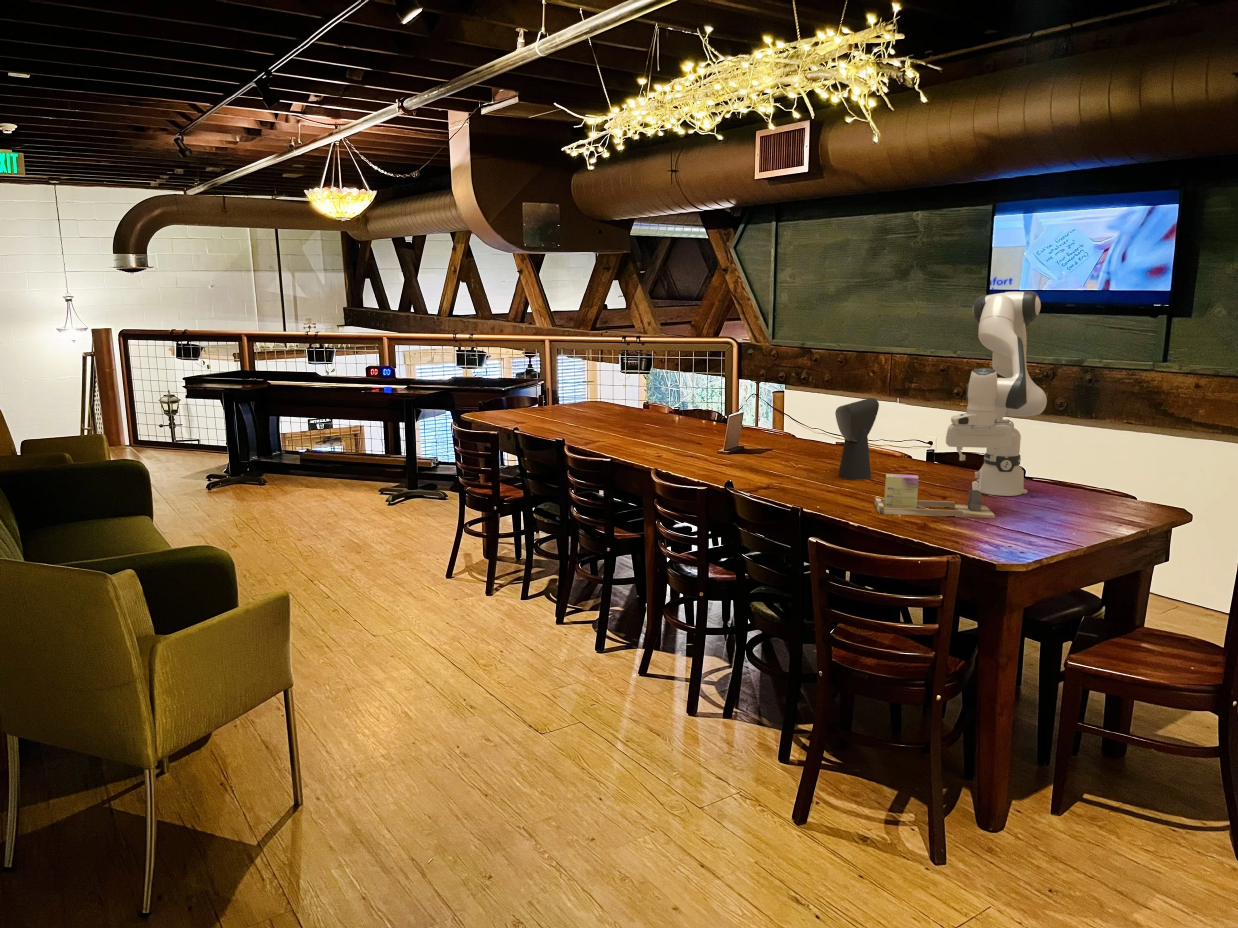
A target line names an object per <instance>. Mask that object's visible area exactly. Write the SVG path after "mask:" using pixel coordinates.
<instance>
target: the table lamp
mask: <svg viewBox="0 0 1238 928" xmlns="http://www.w3.org/2000/svg"><path fill="white" fill-rule="evenodd" d="M879 403H880V402H879V401H878V400H877V399H876V398H874V397H869V398H865V399H862V400H858V401H855V402H850V403H848V404H847V403H846V404H843V405H839V407H837V408H836V410H835V419H836V423H837V427H838V429H839V432H840V434H841V436H842V437H843V439H844V442H843V448H842V453H841V458H840V459H841V460H840V465H839V470H838V471H837V470H836V473H838V476H839V477H838V478H840V477H841V478H840V479H843V478H846V479H845V480H849V479H867V478H870V477H871V478H872V471H871V470H872V469H871V459H870V450H869V438H868V437H869V434H870V432H871V430H872V428H873V426H874V424H875V421H876V418H877V415H878V412H879V409H880V408H879V407H880V404H879ZM815 470H817V471H818V470H819V468H817V469H814V471H815ZM824 470H826V471H827V470H828V471H830V469H828V468H827V469H826V468H824ZM812 471H813V469H811V470H810V471H808V472H806V473H807V476H809V477H810V478H812V479H817V480H819V478H818V477H814V476H811V475H809V474H808V473H809V472H812ZM832 471H834V472H835V470H834V469H832ZM821 479H822V478H821ZM822 480H823V481H824V479H822ZM867 480H868V479H867Z"/></svg>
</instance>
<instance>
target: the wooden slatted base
mask: <svg viewBox="0 0 1238 928" xmlns="http://www.w3.org/2000/svg"><path fill="white" fill-rule="evenodd" d="M982 495H983V493H981V492H980V491H978V490H972V489H970V490H968V497H967V504H959V503H958V504H955V503H956V502H955V501H952V500H951V501H949V500H945V501H944V500H925V499H924V500H923V499H922V500H921V499H919V500H918V499H917V506H918V507H920V508H918V507H917V509H910V508H884V498H880V497H877V496H875V497H874V506H875V505H876V506H875V508H876V511H877V512H879V513H878V514H879V515H892V514H893V515H894V516H895V515H897V516H898V515H899V516H922V517H923V516H925V517H926V516H928V517H946V516H955V517H954V518H972V519H973V518H975V519H976V518H978V519H995V518H996V515H995V514H994V512H993V511H991V509H989V507H987V505H985V504H984V505H982V497H983V496H982ZM944 507H950V509H933V508H944ZM928 508H929V509H928ZM930 508H931V509H930ZM951 508H952V509H951Z"/></svg>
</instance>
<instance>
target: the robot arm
mask: <svg viewBox="0 0 1238 928" xmlns="http://www.w3.org/2000/svg"><path fill="white" fill-rule="evenodd" d="M1041 306H1042V304H1041V299H1040V297H1039V295H1038V293H1037V292H1036V291H1031V290H1030V291H1029V290H1024V291H1005V292H1000V293H993V294H983V295H981V296H978V297H977V298H976V299H975V300H974V301H973V306H972V315H973V319H974V321H975V322H976V323H978V332H977V333H978V339H979V342H980V343H981V345H982V346H984V347H985V348H986V349H988V350H990V351H991V352H992V361H991V367H992V368H989V367H979V368H975V369H973V370H972V371H971V373H970V376H969V377H970V378H969V381H968V383H967V384H966V387H965V388H966V390H965V399H966V400H967V407H966V412H963V413H959V414H957V415H953V416H951V418H950V422H951V424H949V426H948V428H947V430H946V434H945V435H946V436H945V444H946V446H948V447H950V448H956V451H957V453H958V454H959V461H961V462H964V461H966V454H963V452H962V451H963V448H983V449H984V448H985V449H986V450H985V451H986V452H984V456H983V464H982V466H981V467H980V469H979V470H978V471H975V472H974V478H975V479H976V480H974V481H972V482H971V490H978V491H980V492H981V493H982V494H985V495H986V494H987V495H991V496H1005V497H1011V496H1012V497H1013V496H1020V495H1022V494H1024V495H1025V494H1028V489H1025V488H1024V480H1025V479H1024V476H1025V475H1024V472H1025V471H1024V470H1023V468H1021V466H1020V465H1021V460H1022V459H1021V454H1020V452H1021V451H1020V450H1021V439H1022V436H1021V432H1020V431H1019V430H1018V429H1016V428H1015V424H1014V422H1013V421H1011V420H1010V419H1004V417H1025V418H1026V417H1032V416H1038V415H1040V414H1042V413H1043V412H1044V411H1045V409H1046V408H1047V407H1046V406H1047V403H1048V399H1047V394H1046V393H1045V391H1044V390H1043V389H1042V388H1041V387H1039V386H1038V385H1037V384H1036V383H1035V382H1034V380H1032V378H1031V377H1030V374H1029V372H1028V367H1027V338H1028V337H1027V330H1026V327H1029V326H1030V324H1031V323H1032V322H1034V321H1036V319H1037V318H1038V317H1039V314H1040V311H1041V308H1042V307H1041ZM998 375H1000V376H1002V377H998Z"/></svg>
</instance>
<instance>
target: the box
mask: <svg viewBox="0 0 1238 928" xmlns="http://www.w3.org/2000/svg"><path fill="white" fill-rule="evenodd" d="M919 478H920V477H919V475H915V474H899V473H885V483H884V497H883V499H884V508H910V509H918V507H917V500H918V496H919V495H918V493H919V492H918V491H919Z"/></svg>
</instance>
